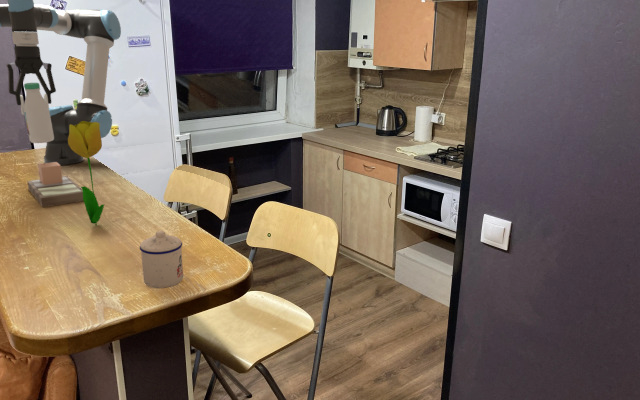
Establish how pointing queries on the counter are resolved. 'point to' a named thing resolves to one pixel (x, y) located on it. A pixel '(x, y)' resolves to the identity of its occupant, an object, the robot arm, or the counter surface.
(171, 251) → the teacup with lid
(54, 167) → the terracotta block
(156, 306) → the counter surface
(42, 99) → the milk bottle
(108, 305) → the counter surface
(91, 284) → the counter surface
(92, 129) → the flower
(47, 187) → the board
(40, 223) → the counter surface
